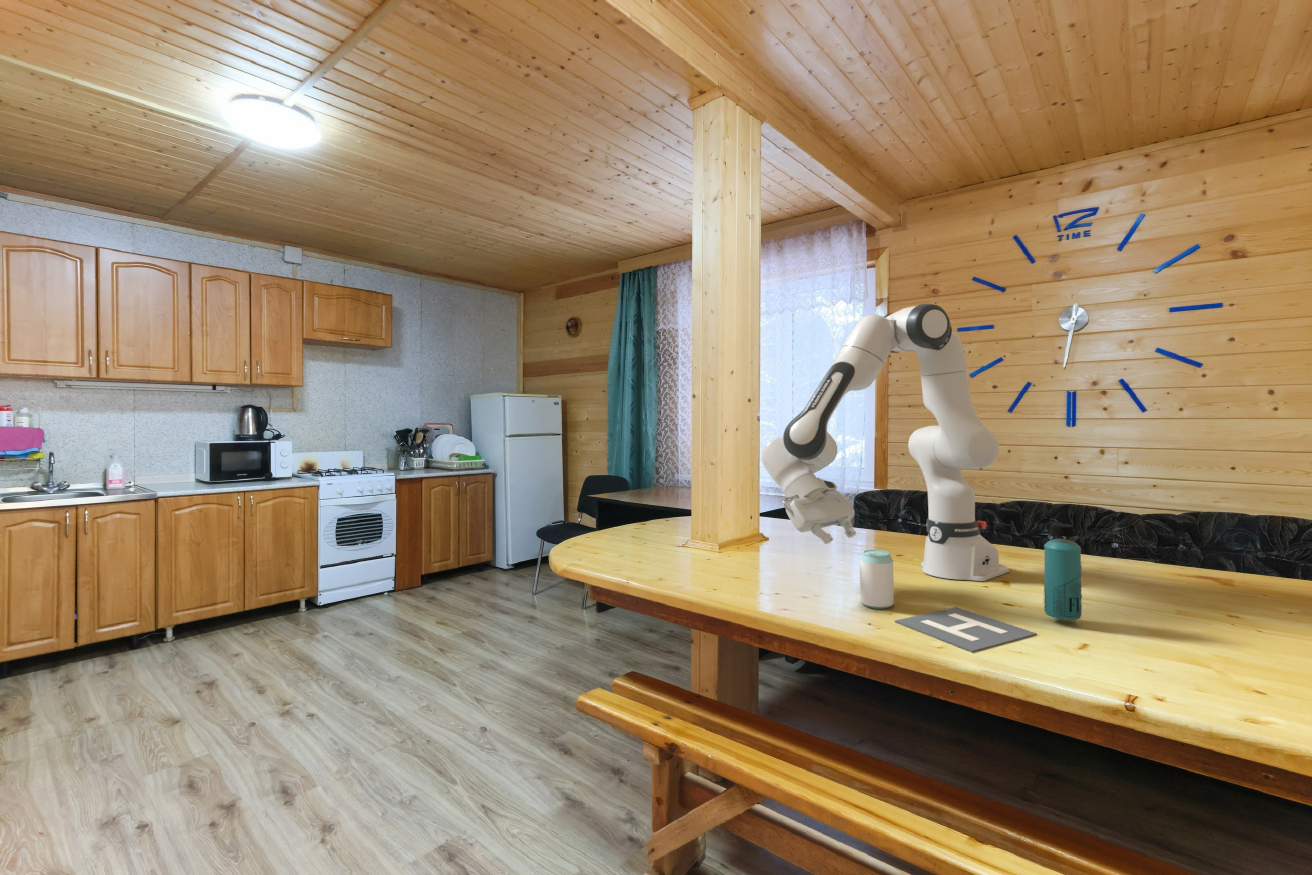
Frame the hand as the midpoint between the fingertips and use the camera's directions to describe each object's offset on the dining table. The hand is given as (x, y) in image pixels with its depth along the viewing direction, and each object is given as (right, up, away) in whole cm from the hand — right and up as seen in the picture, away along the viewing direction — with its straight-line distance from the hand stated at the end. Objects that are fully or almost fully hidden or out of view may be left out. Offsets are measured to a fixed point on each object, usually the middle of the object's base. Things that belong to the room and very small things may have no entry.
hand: (841, 538), depth 143 cm
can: (+6, -14, -6) cm, 16 cm away
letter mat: (+18, -14, -22) cm, 31 cm away
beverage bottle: (+39, -14, -20) cm, 46 cm away
